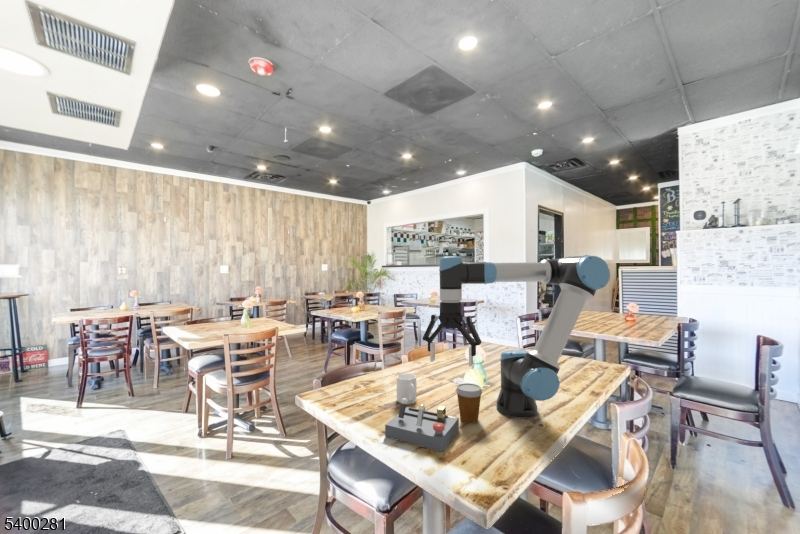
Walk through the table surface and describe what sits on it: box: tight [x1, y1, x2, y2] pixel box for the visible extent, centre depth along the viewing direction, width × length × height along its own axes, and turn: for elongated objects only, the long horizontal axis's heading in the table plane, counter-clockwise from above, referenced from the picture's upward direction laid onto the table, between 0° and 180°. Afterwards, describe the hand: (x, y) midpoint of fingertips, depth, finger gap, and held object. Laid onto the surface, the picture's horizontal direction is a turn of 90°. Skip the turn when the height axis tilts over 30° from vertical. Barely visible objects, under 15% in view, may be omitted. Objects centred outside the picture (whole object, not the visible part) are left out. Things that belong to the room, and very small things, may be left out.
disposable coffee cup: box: [455, 382, 483, 425], centre depth 122 cm, size 10×10×12 cm
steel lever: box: [416, 404, 426, 427], centre depth 109 cm, size 2×2×6 cm
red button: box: [433, 423, 445, 436], centre depth 104 cm, size 4×4×3 cm
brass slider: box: [436, 405, 447, 420], centre depth 114 cm, size 2×3×4 cm, turn 152°
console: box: [384, 406, 460, 453], centre depth 113 cm, size 20×16×5 cm
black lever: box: [398, 398, 408, 419], centre depth 115 cm, size 2×2×6 cm
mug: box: [396, 373, 417, 406], centre depth 139 cm, size 12×8×10 cm
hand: (451, 363), depth 115 cm, fingers open, 13 cm apart
